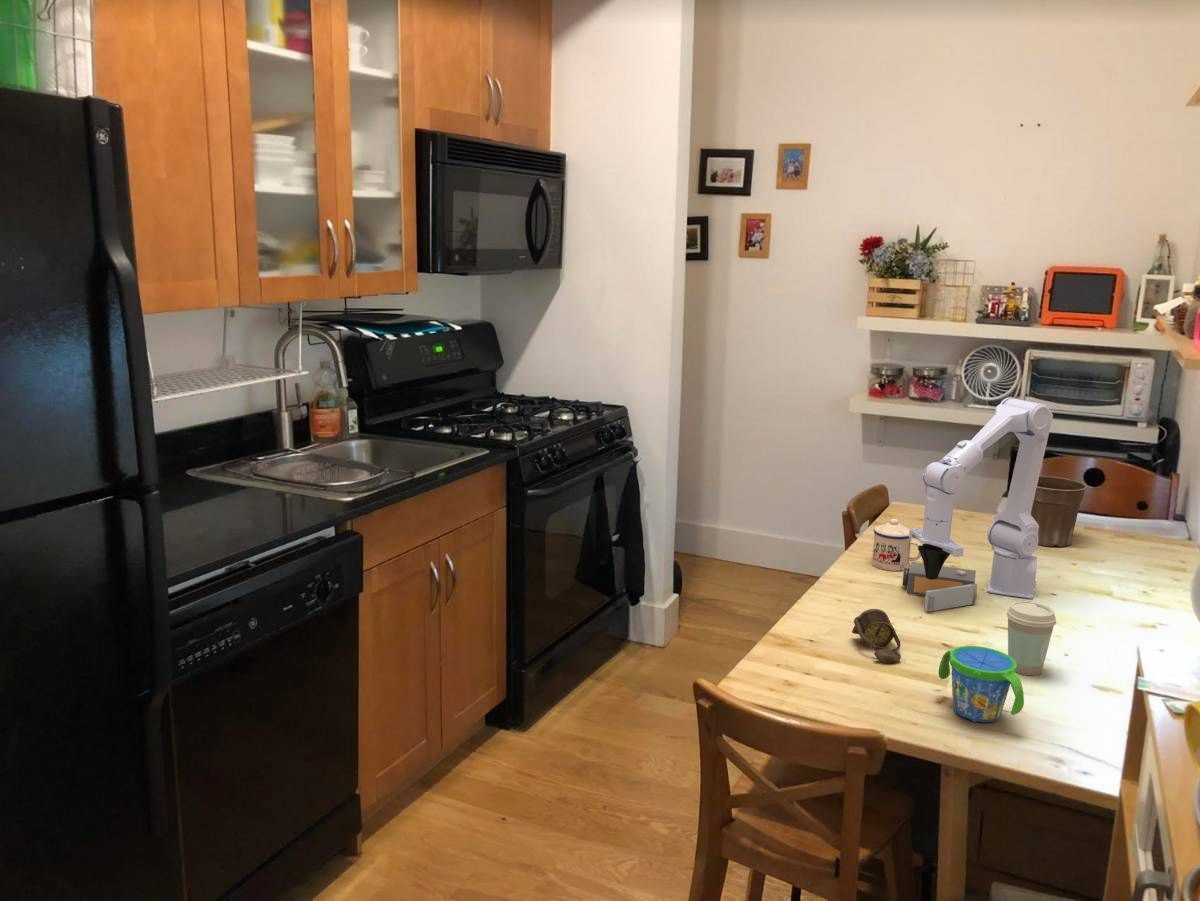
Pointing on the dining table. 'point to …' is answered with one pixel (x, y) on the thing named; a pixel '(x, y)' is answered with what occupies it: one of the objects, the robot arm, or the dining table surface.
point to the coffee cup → (1029, 635)
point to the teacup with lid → (892, 547)
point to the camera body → (946, 579)
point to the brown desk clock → (877, 634)
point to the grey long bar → (950, 597)
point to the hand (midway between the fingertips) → (931, 578)
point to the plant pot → (1056, 509)
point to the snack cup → (981, 682)
